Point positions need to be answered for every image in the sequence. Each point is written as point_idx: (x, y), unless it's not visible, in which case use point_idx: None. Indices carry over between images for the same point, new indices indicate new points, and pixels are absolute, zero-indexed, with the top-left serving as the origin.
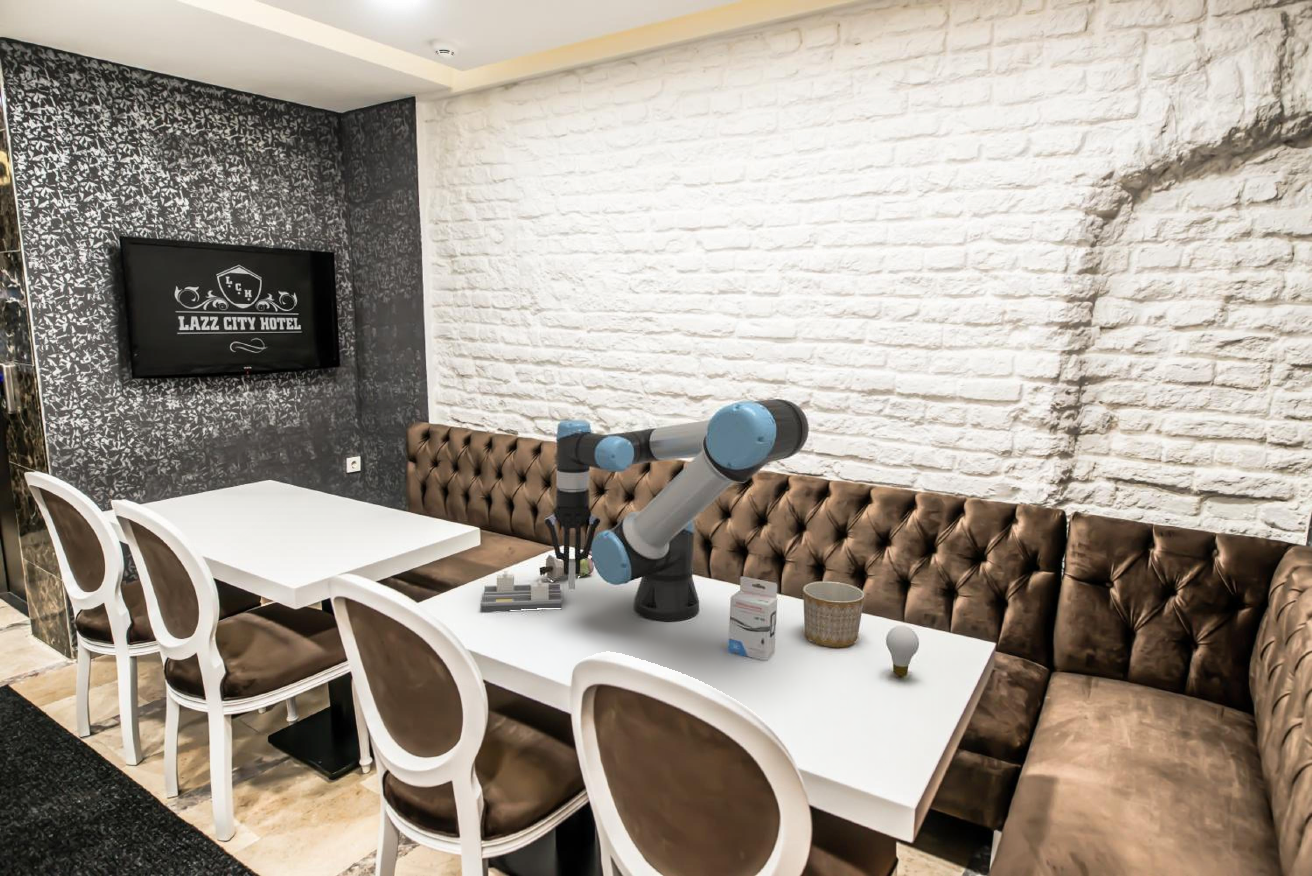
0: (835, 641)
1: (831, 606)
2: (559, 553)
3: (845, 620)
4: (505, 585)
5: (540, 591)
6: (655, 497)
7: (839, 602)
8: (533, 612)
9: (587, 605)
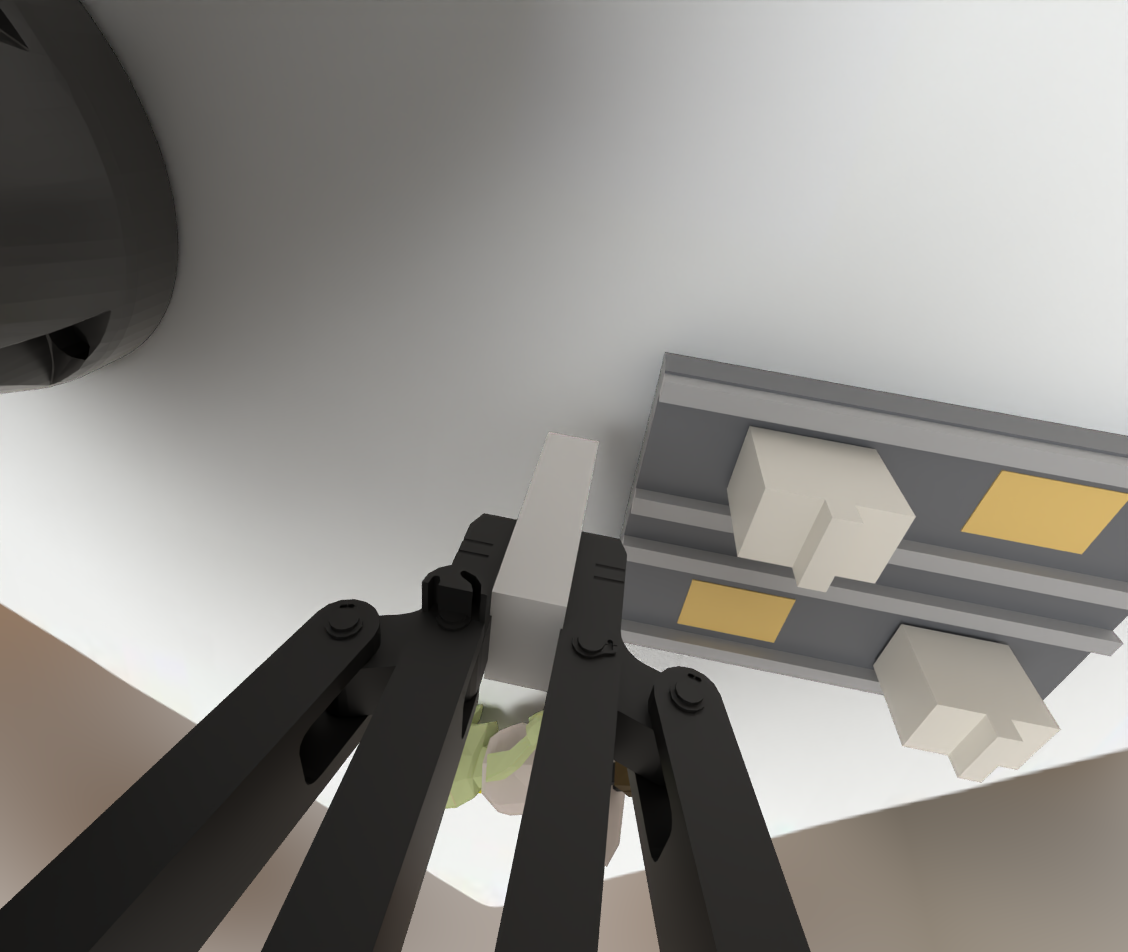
0: None
1: None
2: (679, 735)
3: None
4: (971, 669)
5: (823, 478)
6: None
7: None
8: (873, 357)
9: (484, 374)
